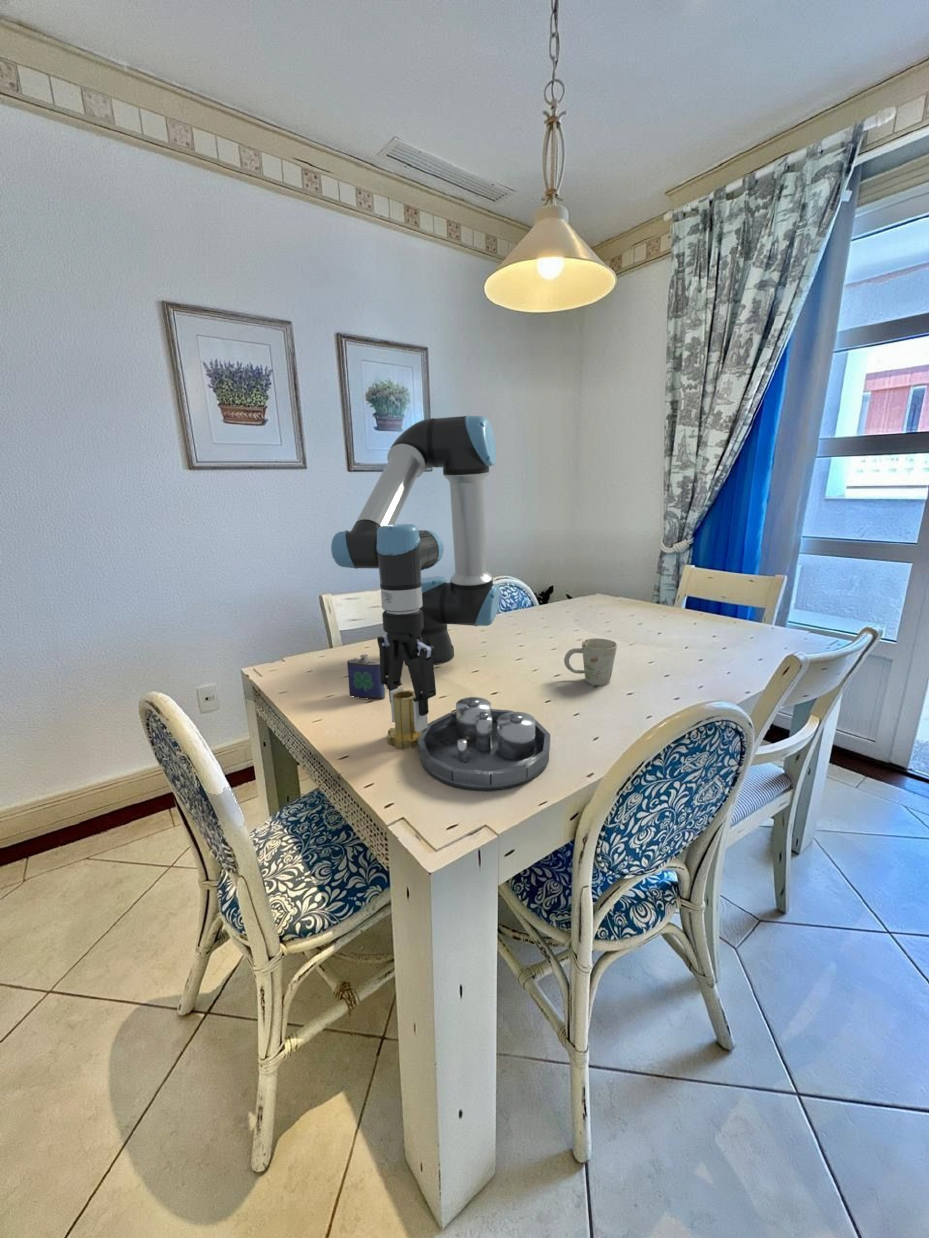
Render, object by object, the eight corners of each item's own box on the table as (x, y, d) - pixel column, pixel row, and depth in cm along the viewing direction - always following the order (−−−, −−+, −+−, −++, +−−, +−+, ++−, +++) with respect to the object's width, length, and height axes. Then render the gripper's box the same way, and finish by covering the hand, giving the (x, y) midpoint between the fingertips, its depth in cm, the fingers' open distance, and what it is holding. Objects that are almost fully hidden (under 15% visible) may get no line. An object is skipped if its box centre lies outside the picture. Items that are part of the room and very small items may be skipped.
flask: (387, 696, 118) (384, 653, 115) (382, 701, 115) (378, 658, 113) (352, 692, 121) (348, 651, 118) (346, 697, 118) (342, 655, 115)
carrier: (393, 756, 91) (390, 717, 89) (477, 712, 108) (477, 678, 106) (493, 810, 76) (493, 764, 74) (573, 748, 93) (575, 709, 91)
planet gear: (380, 740, 97) (376, 696, 95) (408, 725, 103) (406, 683, 100) (406, 753, 93) (404, 706, 90) (434, 737, 98) (433, 693, 96)
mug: (616, 688, 119) (618, 649, 117) (563, 685, 122) (564, 647, 119) (613, 675, 127) (615, 638, 124) (563, 673, 130) (564, 637, 127)
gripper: (355, 606, 94) (364, 717, 100) (422, 621, 82) (429, 746, 88) (385, 600, 100) (393, 705, 105) (453, 612, 87) (458, 731, 93)
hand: (409, 724), depth 96 cm, fingers open, 6 cm apart
